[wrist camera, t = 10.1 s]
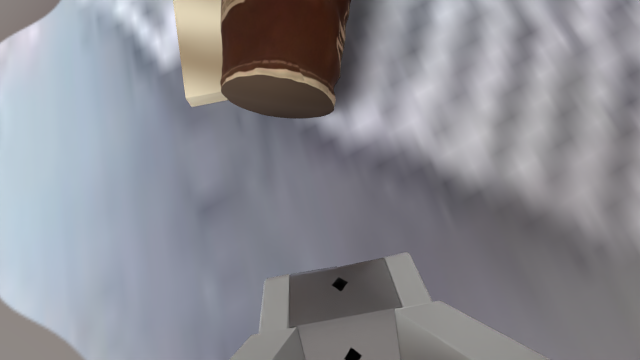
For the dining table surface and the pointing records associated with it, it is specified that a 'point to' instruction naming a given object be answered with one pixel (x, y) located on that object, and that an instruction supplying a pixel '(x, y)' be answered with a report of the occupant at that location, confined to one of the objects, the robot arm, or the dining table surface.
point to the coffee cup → (282, 55)
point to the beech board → (200, 49)
